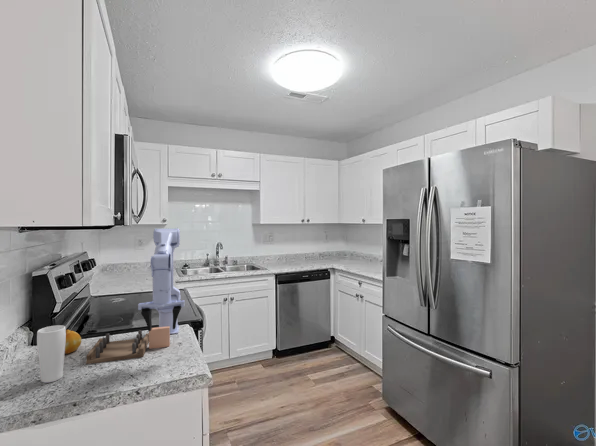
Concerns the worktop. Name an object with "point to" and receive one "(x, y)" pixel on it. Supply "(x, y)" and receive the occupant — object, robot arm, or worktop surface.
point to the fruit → (72, 341)
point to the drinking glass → (51, 352)
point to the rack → (117, 349)
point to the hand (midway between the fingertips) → (162, 329)
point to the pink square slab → (159, 337)
